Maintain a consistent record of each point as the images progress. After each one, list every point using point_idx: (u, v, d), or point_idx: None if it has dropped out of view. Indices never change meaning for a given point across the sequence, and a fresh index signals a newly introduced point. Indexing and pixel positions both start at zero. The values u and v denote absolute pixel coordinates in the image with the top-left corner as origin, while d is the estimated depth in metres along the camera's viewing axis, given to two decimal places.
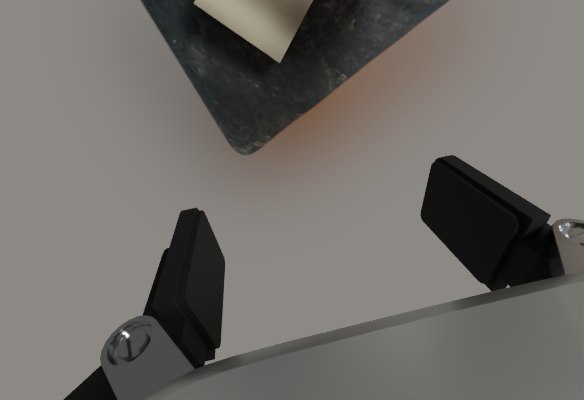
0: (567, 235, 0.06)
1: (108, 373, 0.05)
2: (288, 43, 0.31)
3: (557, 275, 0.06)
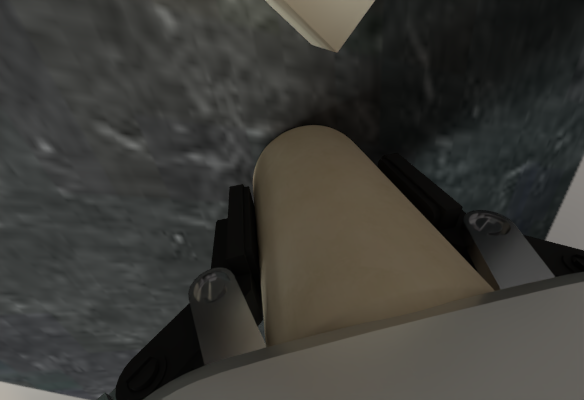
0: (476, 227, 0.07)
1: (199, 309, 0.06)
2: None
3: (482, 269, 0.06)
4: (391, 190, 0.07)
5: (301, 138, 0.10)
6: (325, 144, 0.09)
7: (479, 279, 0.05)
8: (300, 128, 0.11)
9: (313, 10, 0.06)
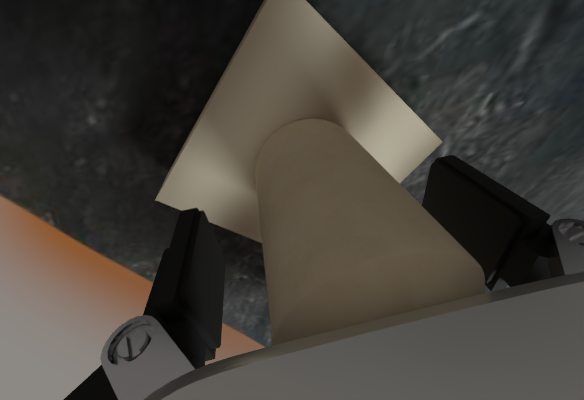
0: (566, 235, 0.06)
1: (109, 373, 0.05)
2: None
3: (557, 275, 0.06)
4: (384, 175, 0.08)
5: (301, 130, 0.10)
6: (324, 135, 0.10)
7: (459, 247, 0.05)
8: (300, 121, 0.11)
9: (422, 155, 0.14)
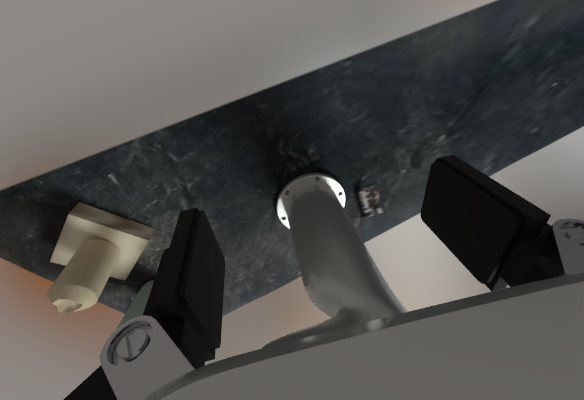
0: (567, 235, 0.06)
1: (108, 373, 0.05)
2: None
3: (557, 275, 0.06)
4: (85, 265, 0.35)
5: (84, 246, 0.38)
6: (85, 249, 0.37)
7: (77, 283, 0.33)
8: (88, 240, 0.39)
9: (144, 244, 0.41)
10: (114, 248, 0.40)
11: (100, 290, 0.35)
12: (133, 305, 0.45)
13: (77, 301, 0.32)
